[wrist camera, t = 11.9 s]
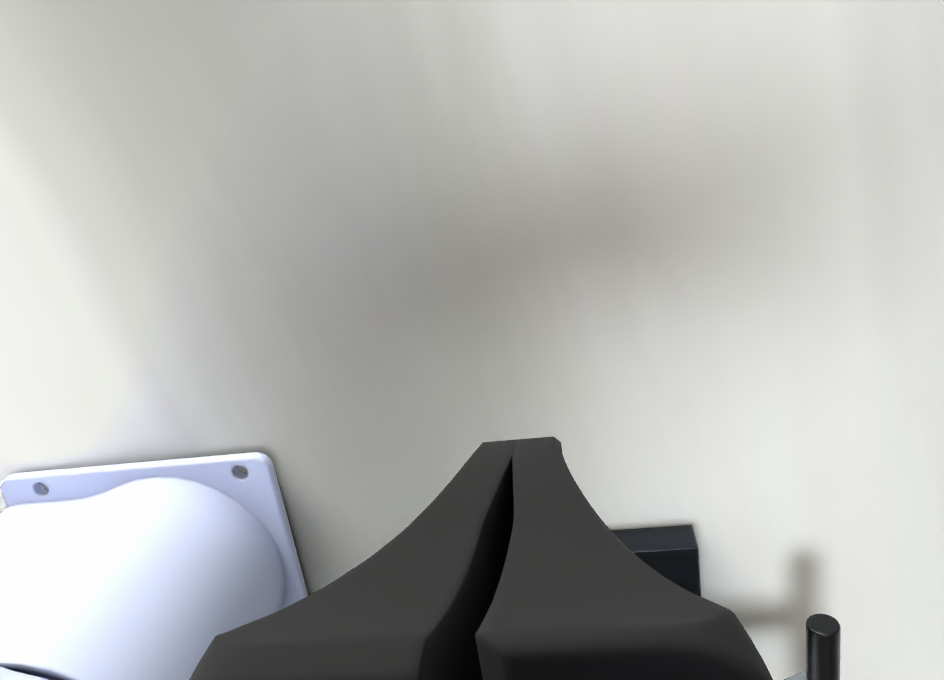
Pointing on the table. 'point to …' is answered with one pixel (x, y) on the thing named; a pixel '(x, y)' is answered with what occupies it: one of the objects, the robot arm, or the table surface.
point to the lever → (821, 649)
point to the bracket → (667, 552)
